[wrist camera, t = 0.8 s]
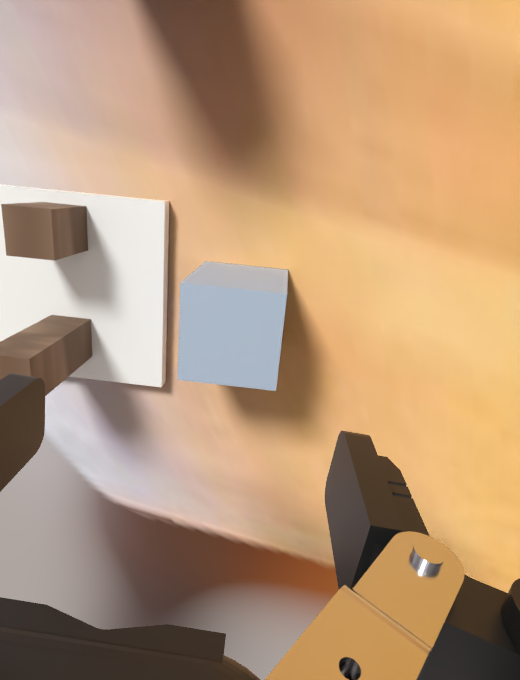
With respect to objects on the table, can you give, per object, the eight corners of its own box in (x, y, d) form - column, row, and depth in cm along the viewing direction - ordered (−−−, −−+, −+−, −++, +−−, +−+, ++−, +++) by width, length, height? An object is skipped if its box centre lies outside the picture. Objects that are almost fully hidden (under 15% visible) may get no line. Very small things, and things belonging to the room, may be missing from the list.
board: (169, 201, 26) (164, 201, 25) (165, 381, 30) (161, 387, 29) (-24, 182, 27) (-35, 181, 26) (-2, 362, 31) (-12, 367, 30)
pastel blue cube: (288, 269, 27) (287, 293, 21) (279, 347, 29) (276, 391, 23) (205, 261, 27) (180, 282, 21) (202, 338, 29) (177, 379, 23)
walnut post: (90, 319, 28) (29, 359, 22) (92, 356, 29) (33, 405, 22) (51, 314, 28) (-22, 353, 22) (54, 352, 29) (-16, 400, 22)
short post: (86, 206, 26) (51, 209, 22) (88, 250, 27) (54, 260, 23) (43, 201, 26) (1, 204, 22) (46, 246, 27) (6, 255, 23)
